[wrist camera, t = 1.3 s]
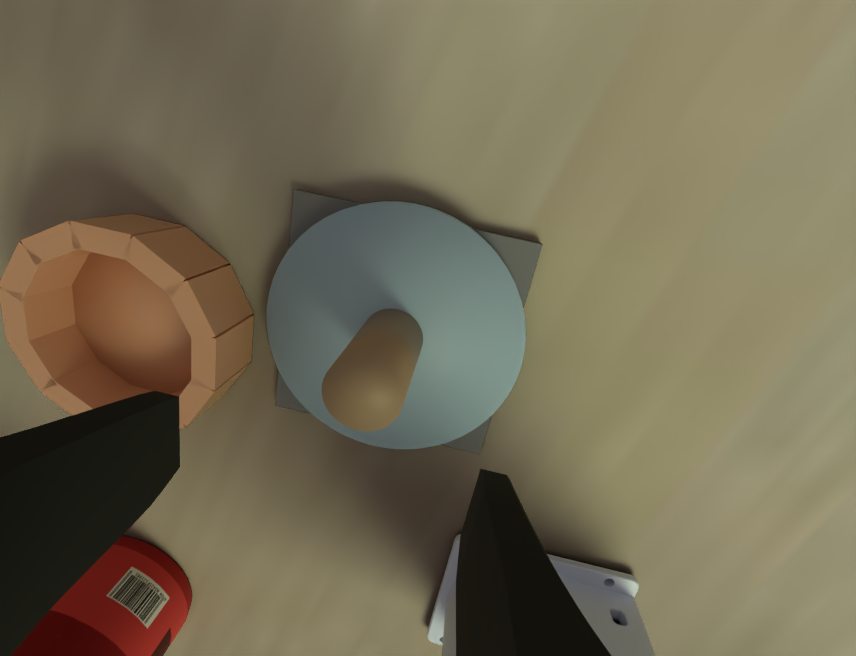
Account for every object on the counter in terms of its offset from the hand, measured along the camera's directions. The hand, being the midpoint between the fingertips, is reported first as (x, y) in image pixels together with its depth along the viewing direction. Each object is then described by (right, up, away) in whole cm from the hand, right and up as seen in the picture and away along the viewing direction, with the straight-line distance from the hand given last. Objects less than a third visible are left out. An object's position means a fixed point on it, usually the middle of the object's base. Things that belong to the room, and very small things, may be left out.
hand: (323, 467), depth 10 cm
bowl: (-10, +4, +10) cm, 15 cm away
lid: (+1, +3, +9) cm, 9 cm away
